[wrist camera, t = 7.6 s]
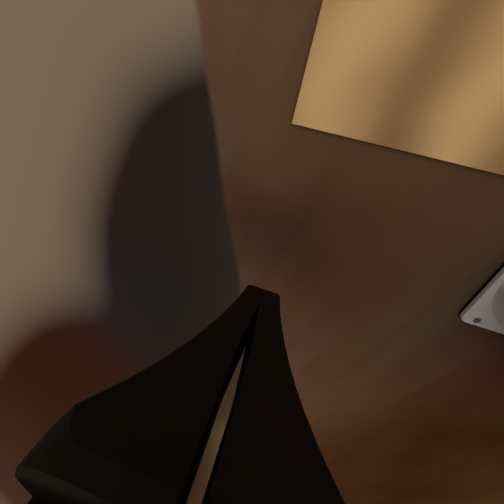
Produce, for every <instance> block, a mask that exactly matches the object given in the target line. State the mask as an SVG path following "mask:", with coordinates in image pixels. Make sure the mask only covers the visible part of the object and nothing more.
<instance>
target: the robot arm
mask: <svg viewBox="0 0 504 504" xmlns="http://www.w3.org/2000/svg"><path fill="white" fill-rule="evenodd" d="M460 318H461V319H462V320H463V321H464V322H466V323H469V324H472V325H475V326H479V327H482V328H485V329H488V330H491V331H495V332H498V333H501V334H504V267H503V268H502V269H501V270H500V271H499V272H498V274H497V275H496V276H495V277H494V278H493V279H492V280H491V281H490V282H489V283H488V284H487V285H486V287H485V288H484V289H483V290H482V291H481V292H480V293H479V294H478V295H477V296H476V297H475V298H474V299H473V301H472V302H471V303H470V304H469V305H468V306H467V307H466V308H465V309H464V310H463V311H462V312H461V314H460ZM475 318H477V319H475ZM245 346H246V349H245ZM244 349H245V353H244V357H243V361H242V366H241V370H240V374H239V379H238V383H237V388H236V392H235V396H234V400H233V404H232V408H231V412H230V415H229V418H228V421H227V424H226V428H225V431H224V434H223V437H222V440H221V444H220V446H219V450H218V453H217V456H216V459H215V462H214V466H213V469H212V472H211V475H210V478H209V481H208V485H207V488H206V491H205V494H204V498H203V501H202V504H345V502H344V500H343V498H342V496H341V494H340V492H339V490H338V488H337V486H336V484H335V482H334V480H333V478H332V476H331V473H330V471H329V469H328V467H327V465H326V462H325V460H324V458H323V456H322V453H321V451H320V449H319V447H318V444H317V442H316V439H315V437H314V434H313V432H312V429H311V427H310V424H309V422H308V419H307V417H306V414H305V412H304V409H303V407H302V404H301V401H300V398H299V395H298V392H297V389H296V386H295V382H294V379H293V376H292V372H291V369H290V365H289V361H288V357H287V352H286V348H285V343H284V338H283V332H282V325H281V317H280V296H279V295H278V294H276V293H273V292H270V291H267V290H264V289H261V288H258V287H255V286H252V285H248V286H247V287H246V288H245V290H244V291H243V292H242V294H241V295H240V296H239V297H238V298H237V299H236V300H235V301H234V303H233V304H232V305H231V306H230V307H229V308H228V309H227V310H226V311H225V312H223V314H221V316H219V317H218V318H217V319H216V320H215V321H214V322H212V323H211V324H210V325H209V326H208V327H207V328H205V329H204V330H203V331H202V332H200V333H199V334H198V335H197V336H195V337H194V338H193V339H191V340H190V341H188V342H187V343H186V344H184V345H183V346H181V347H180V348H178V349H177V350H175V351H174V352H172V353H171V354H169V355H167V356H166V357H164V358H163V359H161V360H160V361H158V362H157V363H155V364H153V365H151V366H149V367H147V368H146V369H144V370H142V371H140V372H138V373H137V374H135V375H133V376H131V377H130V378H128V379H126V380H124V381H122V382H120V383H118V384H116V385H114V386H112V387H110V388H108V389H106V390H104V391H102V392H100V393H98V394H95V395H93V396H91V397H89V398H87V399H85V400H83V401H81V402H79V403H77V404H75V405H74V406H73V407H72V408H71V409H70V410H69V411H68V412H67V413H66V414H65V415H64V416H62V417H61V418H60V419H59V421H58V422H56V423H55V424H54V425H53V426H52V427H51V428H50V429H49V430H48V432H47V433H46V434H45V435H44V436H43V437H42V438H41V439H40V441H39V442H38V443H37V444H36V445H35V446H34V448H33V449H32V450H31V451H30V452H29V454H28V455H27V456H26V457H25V458H24V459H23V461H22V462H21V463H20V464H19V465H18V466H17V468H16V474H15V476H16V478H17V480H18V481H19V482H20V483H21V484H22V485H23V487H24V488H25V489H26V490H27V491H28V492H29V493H30V494H31V495H32V498H31V500H30V501H29V503H28V504H186V503H187V500H188V497H189V494H190V491H191V488H192V485H193V482H194V480H195V477H196V473H197V471H198V468H199V465H200V462H201V459H202V456H203V453H204V450H205V448H206V444H207V442H208V439H209V436H210V433H211V430H212V427H213V424H214V421H215V419H216V416H217V413H218V410H219V407H220V404H221V402H222V399H223V397H224V394H225V392H226V390H227V387H228V385H229V383H230V380H231V378H232V376H233V373H234V372H235V369H236V367H237V365H238V362H239V360H240V358H241V356H242V353H243V351H244Z"/></svg>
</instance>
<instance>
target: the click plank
mask: <svg viewBox="0 0 504 504" xmlns="http://www.w3.org/2000/svg"><path fill="white" fill-rule="evenodd" d="M292 124H295V125H300V126H304V127H308V128H312V129H316V130H320V131H324V132H328V133H332V134H337V135H341V136H345V137H349V138H353V139H357V140H361V141H365V142H369V143H373V144H378V145H382V146H386V147H390V148H394V149H398V150H402V151H406V152H410V153H415V154H419V155H423V156H427V157H431V158H435V159H439V160H443V161H447V162H451V163H456V164H460V165H464V166H468V167H472V168H476V169H480V170H484V171H488V172H493V173H497V174H501V175H504V0H323V2H322V6H321V10H320V14H319V18H318V22H317V26H316V30H315V34H314V38H313V42H312V46H311V50H310V54H309V57H308V61H307V65H306V69H305V73H304V77H303V81H302V85H301V89H300V93H299V97H298V101H297V105H296V109H295V113H294V117H293V121H292Z"/></svg>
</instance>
